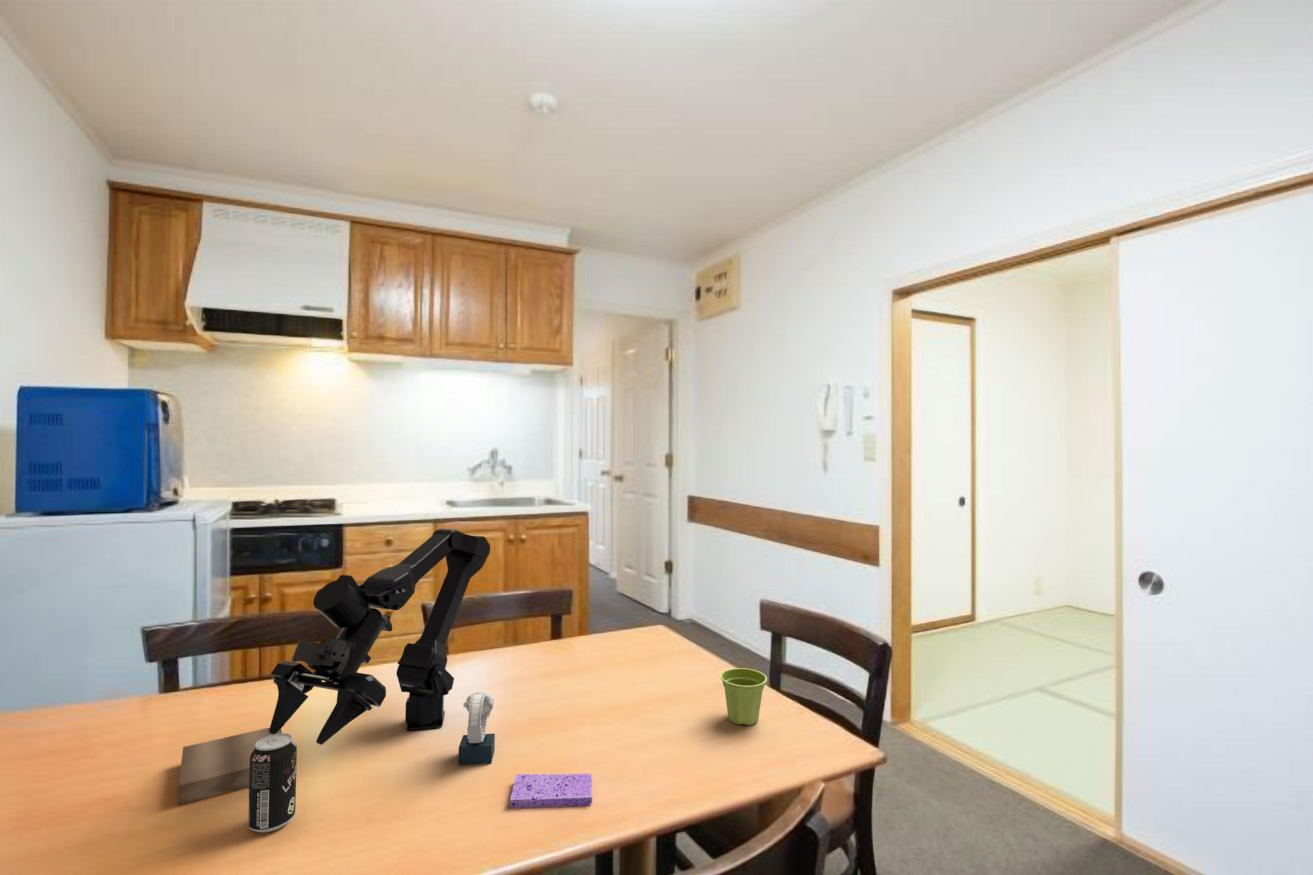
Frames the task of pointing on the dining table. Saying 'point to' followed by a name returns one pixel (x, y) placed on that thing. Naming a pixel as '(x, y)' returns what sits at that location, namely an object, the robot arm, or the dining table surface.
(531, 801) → the sponges
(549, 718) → the dining table surface
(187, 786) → the walnut block
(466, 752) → the watch
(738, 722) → the plant pot
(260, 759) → the beverage can
